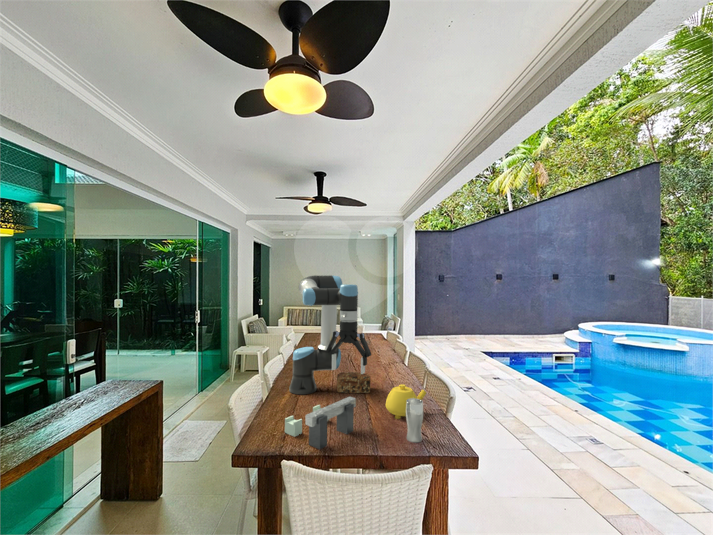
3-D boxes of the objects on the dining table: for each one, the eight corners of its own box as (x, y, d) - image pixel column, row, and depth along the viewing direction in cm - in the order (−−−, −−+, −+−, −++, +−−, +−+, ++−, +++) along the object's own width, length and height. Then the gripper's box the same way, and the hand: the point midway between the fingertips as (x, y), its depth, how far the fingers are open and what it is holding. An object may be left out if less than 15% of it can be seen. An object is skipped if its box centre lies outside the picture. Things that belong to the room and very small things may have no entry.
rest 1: (284, 432, 144) (284, 418, 144) (292, 429, 147) (292, 415, 147) (294, 436, 140) (294, 422, 140) (302, 433, 143) (302, 419, 143)
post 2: (336, 430, 146) (336, 403, 146) (342, 427, 149) (343, 400, 149) (347, 434, 142) (347, 406, 143) (353, 431, 146) (353, 404, 146)
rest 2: (312, 420, 156) (312, 407, 156) (318, 417, 159) (319, 404, 159) (322, 423, 152) (322, 410, 152) (328, 420, 156) (328, 407, 156)
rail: (305, 424, 130) (305, 415, 131) (349, 404, 151) (349, 396, 151) (312, 427, 128) (312, 417, 128) (355, 406, 149) (355, 398, 149)
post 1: (308, 444, 133) (309, 415, 134) (316, 441, 137) (316, 412, 137) (319, 449, 130) (320, 419, 130) (327, 445, 133) (327, 415, 133)
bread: (336, 393, 192) (336, 375, 192) (337, 387, 202) (337, 370, 202) (370, 394, 192) (370, 375, 192) (369, 387, 202) (370, 370, 202)
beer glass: (403, 435, 142) (404, 398, 143) (420, 434, 143) (420, 397, 143) (407, 443, 135) (408, 404, 136) (425, 443, 136) (425, 404, 136)
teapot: (420, 406, 174) (420, 378, 174) (433, 419, 158) (433, 388, 159) (381, 409, 170) (381, 380, 170) (391, 422, 154) (391, 391, 155)
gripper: (318, 320, 150) (318, 369, 149) (372, 323, 140) (372, 377, 139) (327, 318, 157) (326, 366, 156) (379, 321, 147) (378, 372, 146)
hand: (348, 371), depth 148 cm, fingers open, 13 cm apart
